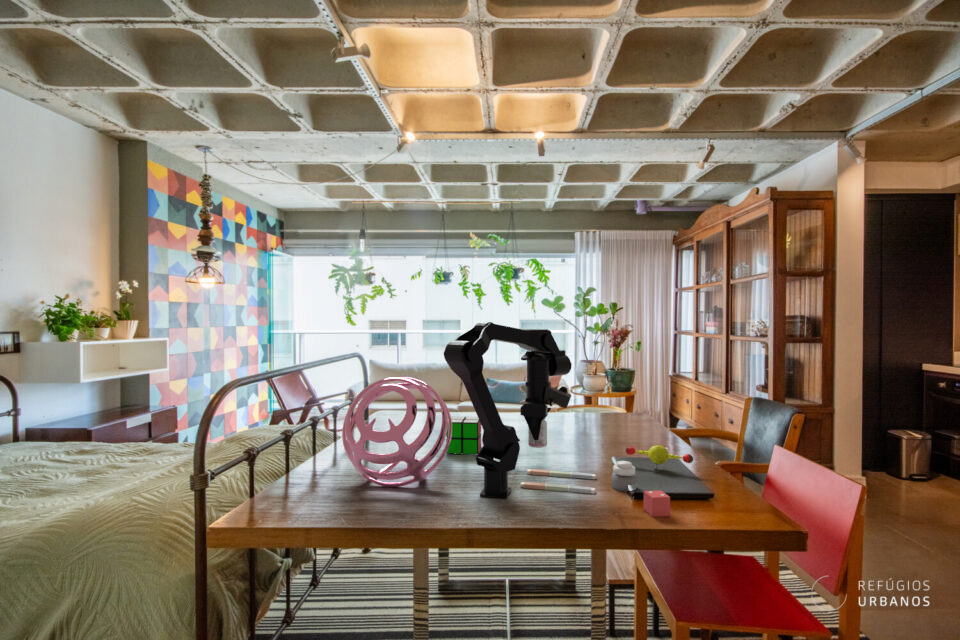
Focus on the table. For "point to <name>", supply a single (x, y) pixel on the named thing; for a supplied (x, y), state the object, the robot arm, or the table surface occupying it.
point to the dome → (624, 468)
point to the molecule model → (659, 454)
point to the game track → (617, 480)
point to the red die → (656, 503)
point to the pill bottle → (542, 437)
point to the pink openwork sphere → (395, 433)
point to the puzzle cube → (465, 435)
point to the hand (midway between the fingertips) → (537, 437)
